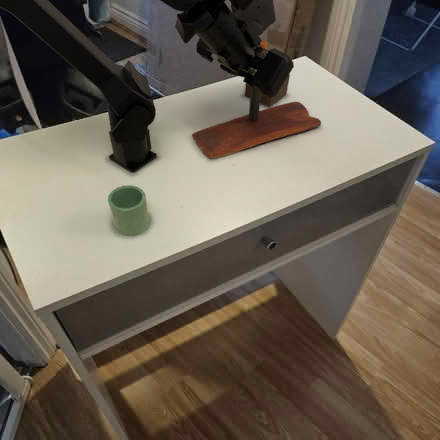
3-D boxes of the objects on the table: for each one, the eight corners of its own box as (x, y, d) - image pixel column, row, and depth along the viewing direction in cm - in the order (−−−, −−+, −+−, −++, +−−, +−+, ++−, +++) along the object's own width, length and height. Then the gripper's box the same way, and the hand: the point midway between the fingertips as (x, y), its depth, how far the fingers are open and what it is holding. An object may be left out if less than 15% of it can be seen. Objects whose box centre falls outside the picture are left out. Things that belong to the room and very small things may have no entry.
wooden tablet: (296, 104, 86) (298, 96, 85) (323, 128, 81) (325, 120, 80) (186, 133, 79) (186, 126, 77) (209, 162, 74) (209, 154, 72)
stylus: (254, 122, 78) (262, 46, 67) (246, 118, 79) (252, 42, 67) (260, 117, 79) (269, 42, 68) (252, 114, 80) (259, 38, 68)
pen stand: (269, 107, 85) (272, 86, 81) (244, 96, 87) (246, 75, 84) (286, 94, 88) (290, 74, 85) (261, 84, 91) (264, 63, 87)
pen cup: (131, 241, 62) (126, 215, 57) (107, 224, 64) (100, 198, 59) (156, 221, 65) (153, 196, 60) (132, 206, 66) (127, 180, 62)
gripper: (297, -3, 54) (327, 58, 68) (209, -41, 62) (252, 21, 75) (251, 74, 58) (289, 117, 71) (172, 29, 65) (220, 76, 79)
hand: (262, 80), depth 74 cm, fingers closed on stylus, 2 cm apart
